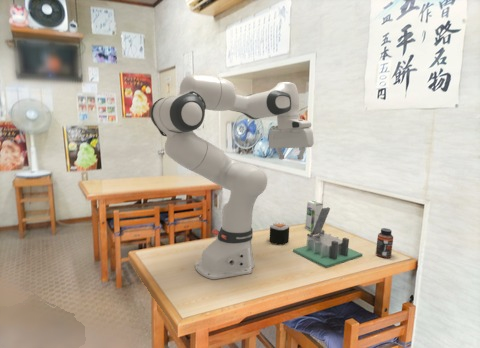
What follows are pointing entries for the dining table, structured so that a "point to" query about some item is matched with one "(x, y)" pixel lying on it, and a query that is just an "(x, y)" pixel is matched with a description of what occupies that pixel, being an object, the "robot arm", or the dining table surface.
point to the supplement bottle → (384, 243)
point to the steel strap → (321, 220)
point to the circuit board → (326, 261)
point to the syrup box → (313, 213)
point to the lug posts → (335, 248)
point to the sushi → (279, 233)
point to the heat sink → (322, 244)
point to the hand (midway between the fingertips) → (290, 159)
